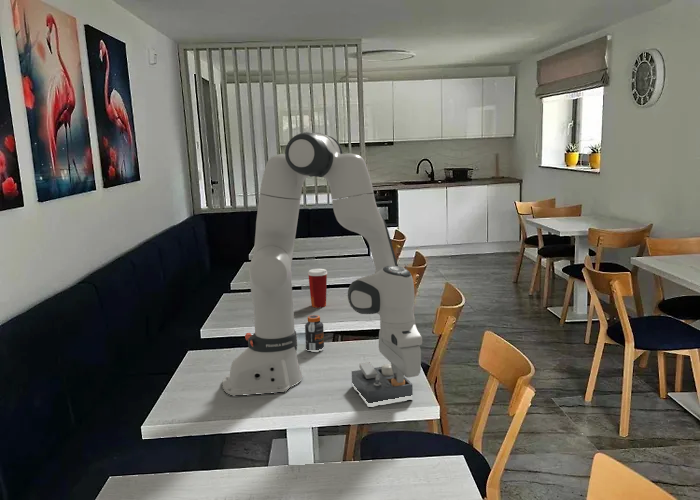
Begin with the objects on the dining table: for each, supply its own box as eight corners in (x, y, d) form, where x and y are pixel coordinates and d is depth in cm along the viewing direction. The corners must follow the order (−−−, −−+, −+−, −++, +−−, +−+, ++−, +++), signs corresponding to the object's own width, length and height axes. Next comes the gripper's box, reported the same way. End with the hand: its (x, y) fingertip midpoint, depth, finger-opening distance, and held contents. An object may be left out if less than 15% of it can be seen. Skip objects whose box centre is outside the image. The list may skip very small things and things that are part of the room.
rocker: (366, 378, 152) (366, 375, 152) (359, 367, 158) (359, 363, 157) (377, 377, 153) (377, 373, 153) (369, 365, 158) (369, 361, 158)
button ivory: (384, 383, 155) (384, 369, 155) (380, 378, 159) (379, 365, 158) (397, 381, 156) (396, 367, 156) (392, 376, 160) (392, 363, 159)
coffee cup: (332, 304, 241) (331, 269, 238) (321, 309, 234) (319, 273, 231) (316, 302, 245) (314, 267, 242) (304, 306, 238) (303, 271, 235)
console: (368, 408, 146) (368, 380, 144) (352, 386, 159) (351, 360, 158) (412, 400, 149) (412, 373, 148) (392, 380, 162) (392, 355, 161)
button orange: (394, 398, 149) (394, 384, 148) (389, 393, 152) (389, 378, 152) (407, 396, 150) (407, 382, 149) (402, 391, 153) (401, 377, 153)
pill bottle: (317, 354, 184) (315, 320, 182) (302, 351, 187) (300, 317, 185) (327, 348, 189) (326, 315, 187) (313, 345, 192) (311, 312, 190)
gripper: (372, 319, 157) (373, 367, 159) (401, 343, 138) (402, 398, 140) (393, 317, 159) (394, 364, 161) (425, 340, 139) (425, 393, 142)
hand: (398, 380), depth 150 cm, fingers closed, pressing on button orange
